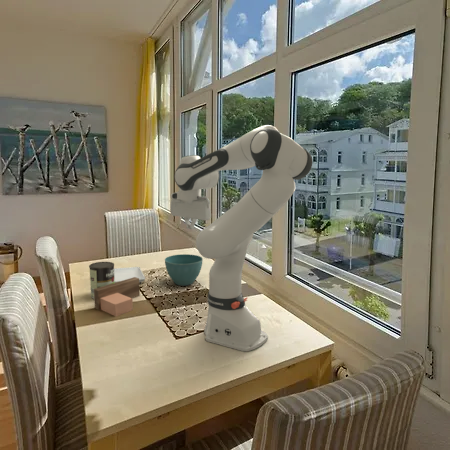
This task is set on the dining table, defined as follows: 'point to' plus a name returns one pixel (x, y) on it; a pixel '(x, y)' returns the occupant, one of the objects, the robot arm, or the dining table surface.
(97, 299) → the walnut board
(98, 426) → the dining table surface
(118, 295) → the terracotta block
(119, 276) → the salad plate
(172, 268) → the plant pot
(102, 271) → the coffee can
